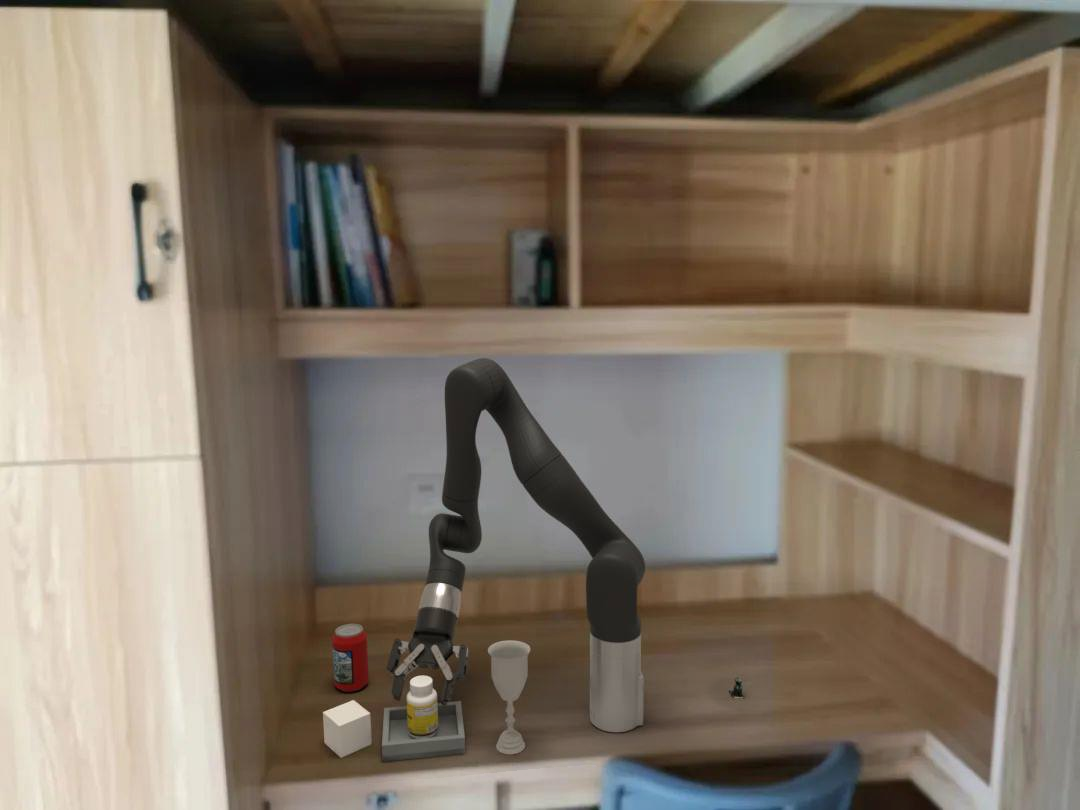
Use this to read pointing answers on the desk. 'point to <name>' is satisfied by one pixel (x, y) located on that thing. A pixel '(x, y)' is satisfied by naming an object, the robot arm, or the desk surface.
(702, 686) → the desk surface
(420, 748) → the tray
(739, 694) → the sculpture
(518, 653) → the chalice
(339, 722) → the white cube
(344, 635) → the beverage can
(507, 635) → the desk surface
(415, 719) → the supplement bottle
